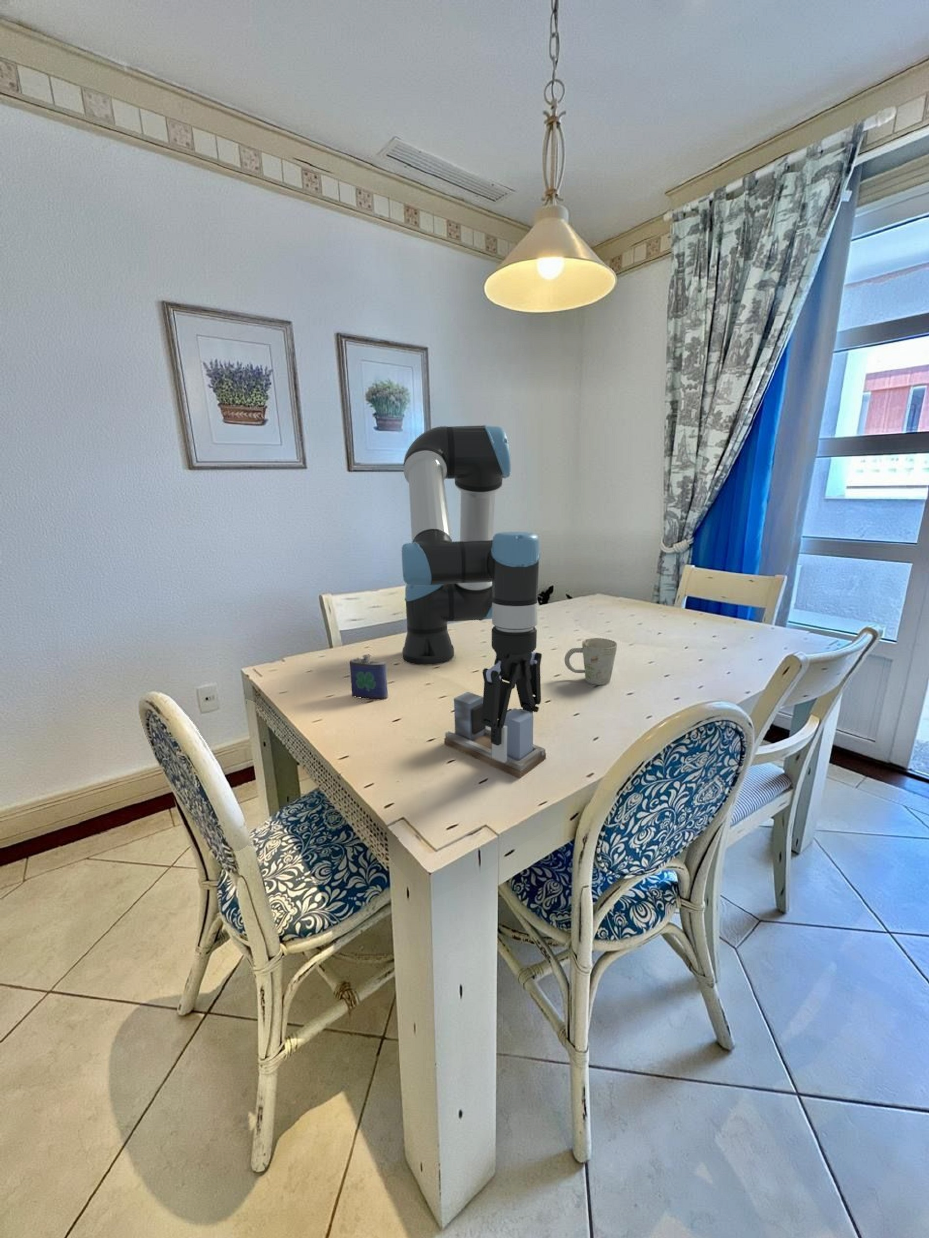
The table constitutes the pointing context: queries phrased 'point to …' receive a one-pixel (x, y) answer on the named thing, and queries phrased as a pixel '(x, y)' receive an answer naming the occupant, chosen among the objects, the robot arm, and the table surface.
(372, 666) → the flask
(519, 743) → the blue-grey rectangular block
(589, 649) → the mug
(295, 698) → the table surface
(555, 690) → the table surface
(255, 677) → the table surface
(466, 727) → the rail board
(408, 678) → the table surface
